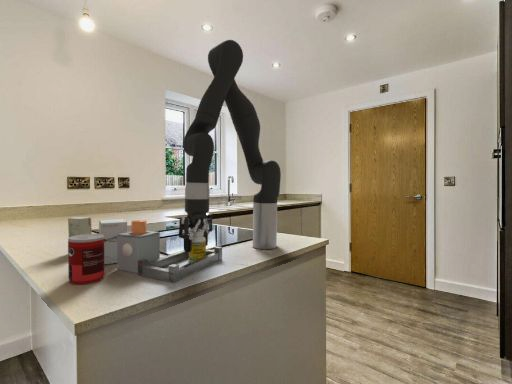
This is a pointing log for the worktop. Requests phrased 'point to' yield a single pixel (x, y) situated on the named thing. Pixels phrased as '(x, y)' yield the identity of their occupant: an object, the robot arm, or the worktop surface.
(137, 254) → the cabinet
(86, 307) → the worktop surface
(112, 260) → the supplement box
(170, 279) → the grey rectangular tray
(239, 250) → the worktop surface
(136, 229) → the brown egg
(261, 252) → the worktop surface
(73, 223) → the skincare box
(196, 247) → the supplement bottle
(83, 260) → the canned food
